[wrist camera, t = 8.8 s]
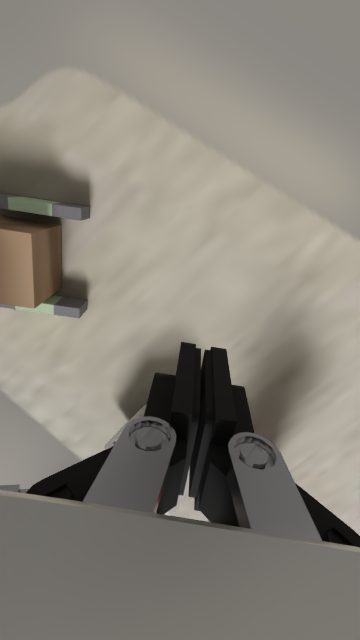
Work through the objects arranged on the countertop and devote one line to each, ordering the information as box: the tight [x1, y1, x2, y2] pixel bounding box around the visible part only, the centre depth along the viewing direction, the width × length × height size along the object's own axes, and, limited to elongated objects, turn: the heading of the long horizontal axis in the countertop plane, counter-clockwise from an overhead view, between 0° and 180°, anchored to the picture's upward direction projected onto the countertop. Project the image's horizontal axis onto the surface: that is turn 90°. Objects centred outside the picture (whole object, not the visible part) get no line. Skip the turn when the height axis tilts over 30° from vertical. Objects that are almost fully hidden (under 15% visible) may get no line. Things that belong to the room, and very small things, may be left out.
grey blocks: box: [0, 193, 90, 318], centre depth 24 cm, size 7×8×2 cm
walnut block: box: [0, 216, 62, 309], centre depth 22 cm, size 5×5×5 cm
